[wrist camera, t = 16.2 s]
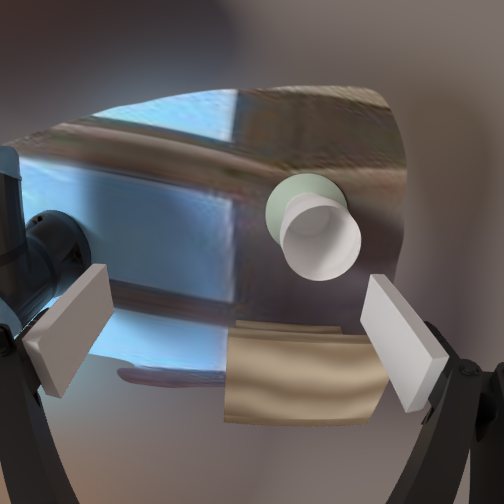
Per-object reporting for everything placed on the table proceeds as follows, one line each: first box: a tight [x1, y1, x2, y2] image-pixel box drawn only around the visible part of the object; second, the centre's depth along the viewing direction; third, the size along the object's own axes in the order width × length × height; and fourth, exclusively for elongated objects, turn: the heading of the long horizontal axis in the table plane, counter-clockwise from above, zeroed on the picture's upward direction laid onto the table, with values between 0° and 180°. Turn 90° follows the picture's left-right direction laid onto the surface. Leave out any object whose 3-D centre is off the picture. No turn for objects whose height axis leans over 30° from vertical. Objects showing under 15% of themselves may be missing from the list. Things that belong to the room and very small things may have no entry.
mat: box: [266, 173, 347, 246], centre depth 45 cm, size 12×12×1 cm
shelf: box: [224, 320, 390, 426], centre depth 40 cm, size 14×18×20 cm
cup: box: [280, 193, 361, 281], centre depth 39 cm, size 9×9×12 cm
